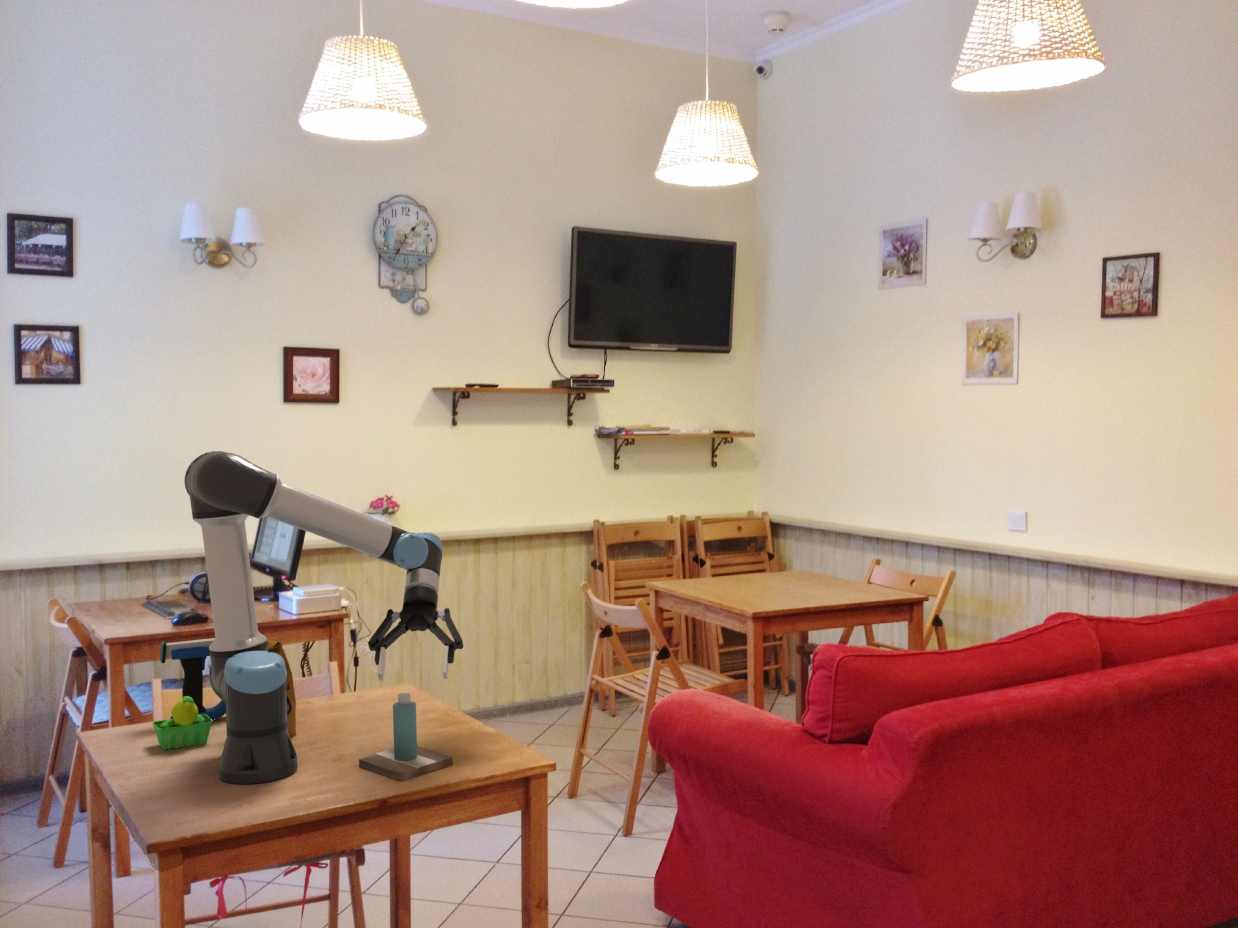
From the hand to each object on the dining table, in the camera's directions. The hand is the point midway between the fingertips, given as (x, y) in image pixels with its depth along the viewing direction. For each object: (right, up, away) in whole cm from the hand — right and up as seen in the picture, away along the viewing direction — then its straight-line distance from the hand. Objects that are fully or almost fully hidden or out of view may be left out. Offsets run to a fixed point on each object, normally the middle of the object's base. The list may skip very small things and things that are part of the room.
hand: (412, 676), depth 223 cm
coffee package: (-36, -17, +15) cm, 42 cm away
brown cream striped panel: (0, -17, -7) cm, 18 cm away
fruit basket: (-52, -17, +9) cm, 56 cm away
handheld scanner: (-56, -16, +28) cm, 65 cm away
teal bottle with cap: (0, -15, -7) cm, 17 cm away
